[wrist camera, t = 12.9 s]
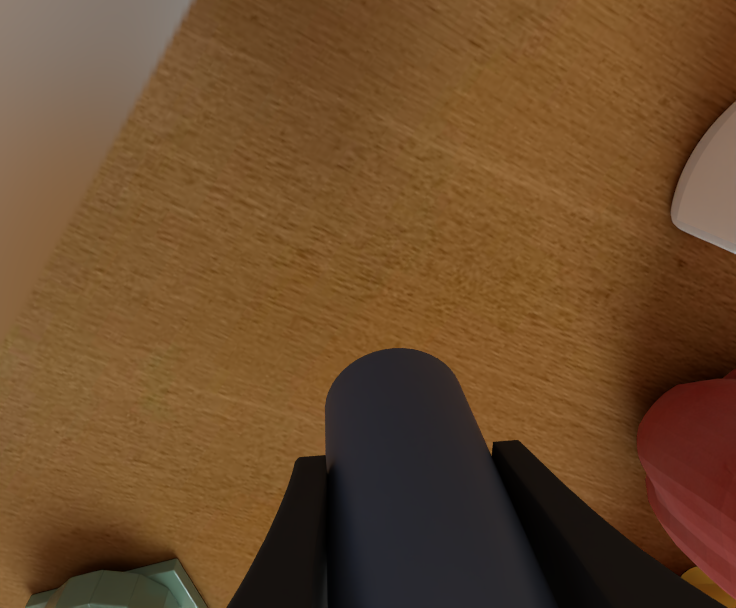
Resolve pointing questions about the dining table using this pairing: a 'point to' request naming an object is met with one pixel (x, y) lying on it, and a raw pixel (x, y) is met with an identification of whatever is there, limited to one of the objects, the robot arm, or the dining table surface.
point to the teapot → (708, 586)
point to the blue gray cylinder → (418, 495)
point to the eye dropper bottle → (710, 186)
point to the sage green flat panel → (125, 589)
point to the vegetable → (695, 472)
